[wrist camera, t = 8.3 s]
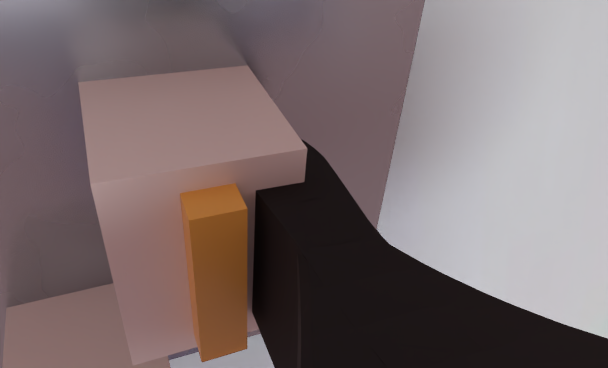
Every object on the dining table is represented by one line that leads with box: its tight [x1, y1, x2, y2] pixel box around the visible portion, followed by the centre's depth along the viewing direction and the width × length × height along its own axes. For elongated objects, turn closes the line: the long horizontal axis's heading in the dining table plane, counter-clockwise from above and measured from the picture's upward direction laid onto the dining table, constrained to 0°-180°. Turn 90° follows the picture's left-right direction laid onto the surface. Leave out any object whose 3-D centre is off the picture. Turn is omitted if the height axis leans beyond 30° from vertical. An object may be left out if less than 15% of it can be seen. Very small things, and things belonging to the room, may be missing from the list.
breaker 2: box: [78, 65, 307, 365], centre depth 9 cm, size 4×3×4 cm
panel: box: [0, 0, 425, 368], centre depth 10 cm, size 12×14×2 cm
